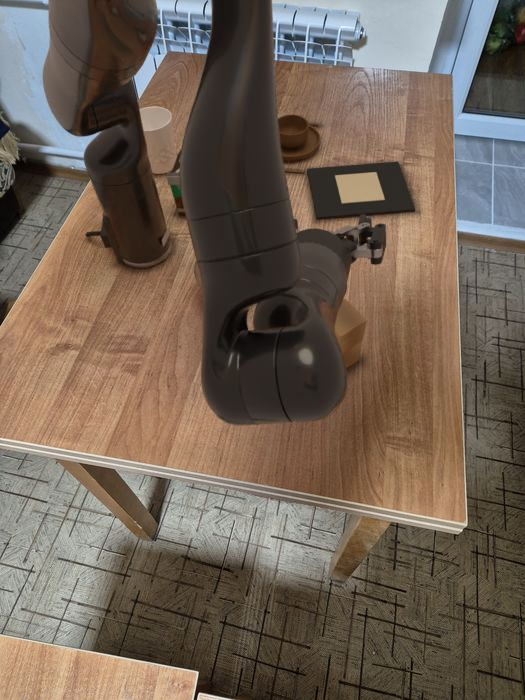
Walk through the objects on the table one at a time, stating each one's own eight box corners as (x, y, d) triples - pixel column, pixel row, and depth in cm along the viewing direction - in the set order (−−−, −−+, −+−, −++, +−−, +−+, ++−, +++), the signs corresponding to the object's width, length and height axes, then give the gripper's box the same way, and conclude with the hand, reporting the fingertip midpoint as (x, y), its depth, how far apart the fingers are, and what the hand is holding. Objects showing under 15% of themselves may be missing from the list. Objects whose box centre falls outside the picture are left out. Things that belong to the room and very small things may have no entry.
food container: (208, 223, 93) (200, 178, 85) (176, 220, 94) (165, 174, 86) (224, 180, 100) (219, 134, 92) (194, 177, 101) (186, 131, 93)
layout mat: (316, 219, 93) (316, 216, 92) (307, 171, 101) (307, 167, 100) (414, 211, 93) (415, 208, 93) (397, 163, 101) (398, 160, 100)
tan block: (334, 376, 75) (340, 336, 66) (315, 355, 77) (319, 314, 68) (358, 360, 76) (367, 319, 68) (339, 340, 78) (345, 298, 70)
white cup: (181, 151, 106) (173, 105, 98) (179, 175, 102) (170, 129, 93) (144, 153, 106) (132, 107, 98) (140, 177, 102) (127, 131, 93)
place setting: (314, 175, 100) (316, 149, 95) (215, 167, 102) (211, 141, 98) (324, 123, 109) (326, 97, 105) (233, 117, 112) (230, 91, 107)
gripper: (381, 239, 47) (386, 189, 60) (234, 247, 51) (269, 198, 64) (383, 311, 51) (387, 249, 64) (246, 314, 55) (277, 255, 68)
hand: (328, 224), depth 64 cm, fingers open, 8 cm apart
